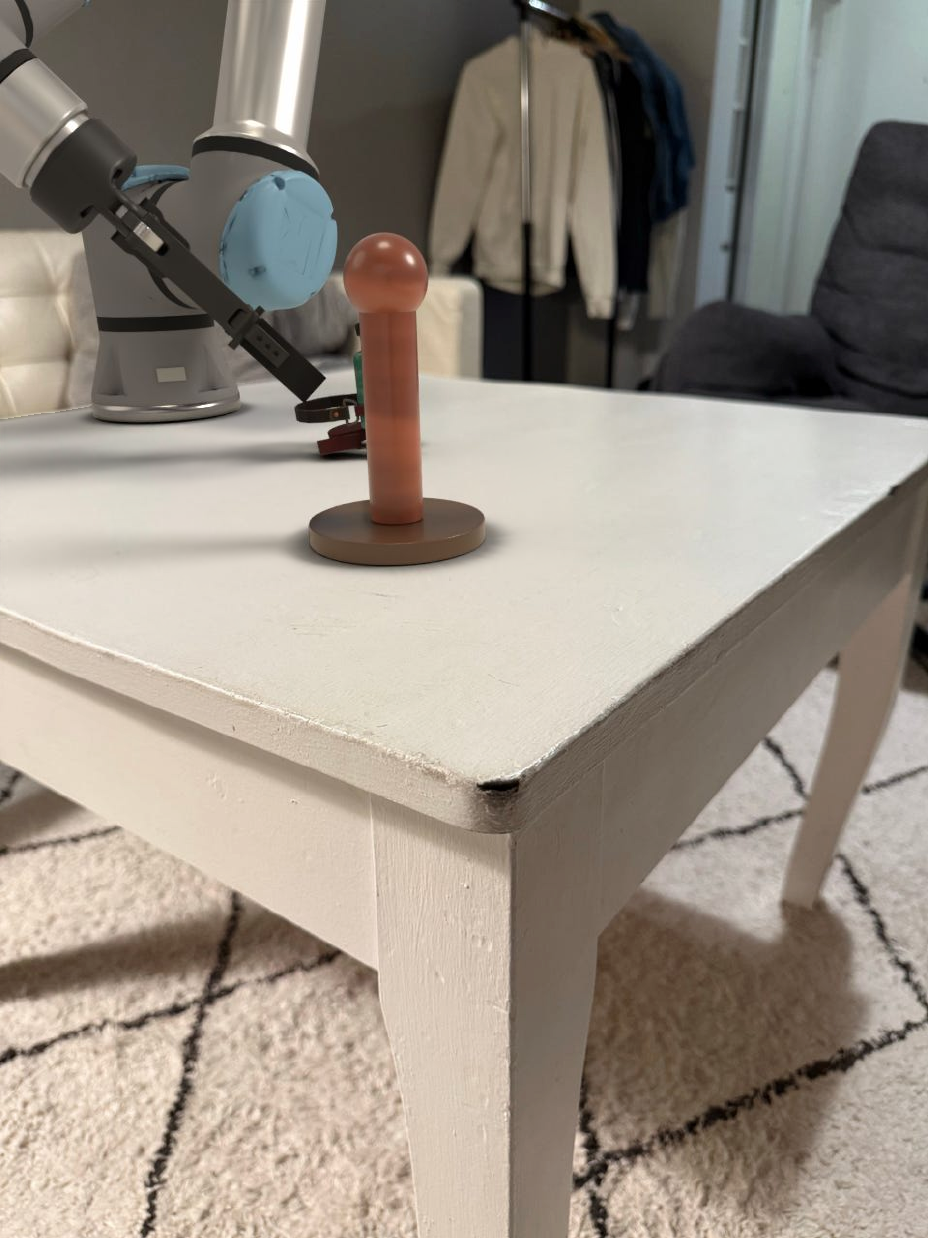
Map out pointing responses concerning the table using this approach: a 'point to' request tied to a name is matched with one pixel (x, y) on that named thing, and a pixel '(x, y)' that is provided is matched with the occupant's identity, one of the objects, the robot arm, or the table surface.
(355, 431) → the binoculars
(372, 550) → the marker post
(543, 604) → the table surface
